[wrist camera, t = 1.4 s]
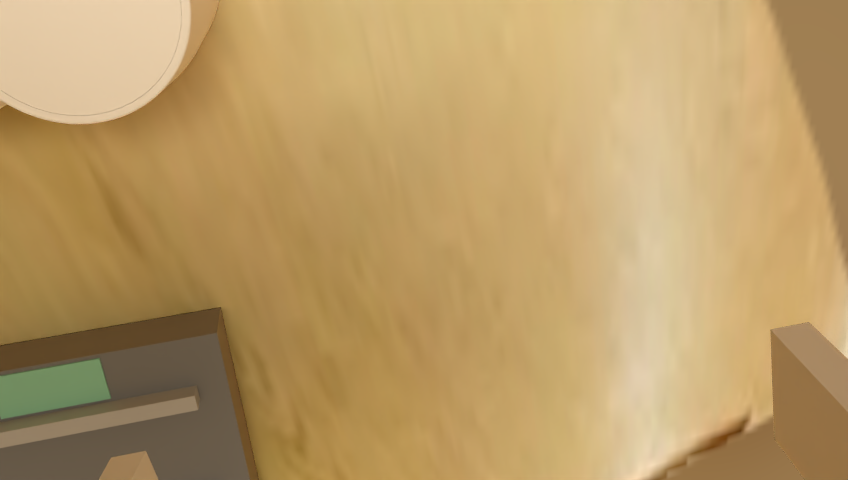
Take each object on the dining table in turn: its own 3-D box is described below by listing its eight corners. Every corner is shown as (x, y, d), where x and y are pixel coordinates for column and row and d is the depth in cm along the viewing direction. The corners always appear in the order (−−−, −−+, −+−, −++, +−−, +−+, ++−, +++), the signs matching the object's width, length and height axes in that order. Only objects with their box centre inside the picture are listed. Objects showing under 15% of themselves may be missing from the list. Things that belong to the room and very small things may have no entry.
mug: (94, -201, 23) (259, 23, 26) (143, -151, 31) (261, 12, 34) (-215, 30, 23) (-17, 224, 26) (-82, 16, 32) (55, 163, 35)
